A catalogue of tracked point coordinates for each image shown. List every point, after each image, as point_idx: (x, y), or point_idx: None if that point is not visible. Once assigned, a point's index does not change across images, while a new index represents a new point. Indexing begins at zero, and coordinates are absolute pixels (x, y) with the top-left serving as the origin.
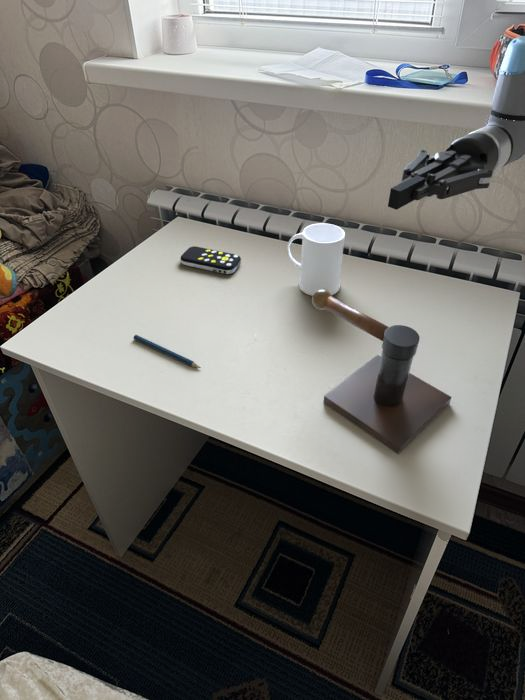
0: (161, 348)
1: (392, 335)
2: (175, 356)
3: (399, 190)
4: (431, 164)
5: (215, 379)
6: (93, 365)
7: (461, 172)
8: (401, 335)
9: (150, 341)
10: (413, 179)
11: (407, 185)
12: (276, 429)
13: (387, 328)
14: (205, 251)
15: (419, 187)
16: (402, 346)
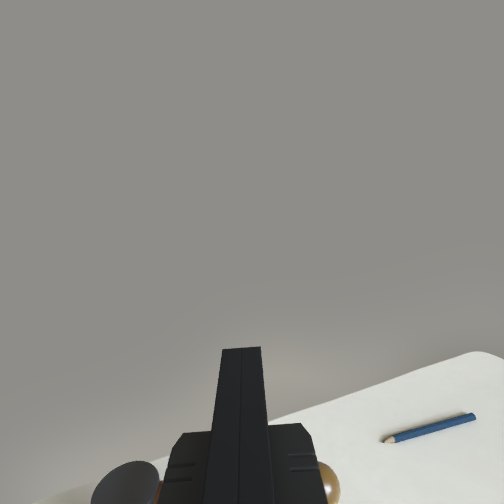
0: (434, 423)
1: (142, 476)
2: (413, 429)
3: (228, 352)
4: None
5: (356, 447)
6: (429, 380)
7: None
8: (127, 488)
9: (454, 420)
10: (248, 450)
11: (230, 390)
12: None
13: (157, 484)
14: None
15: (197, 469)
16: (117, 467)
